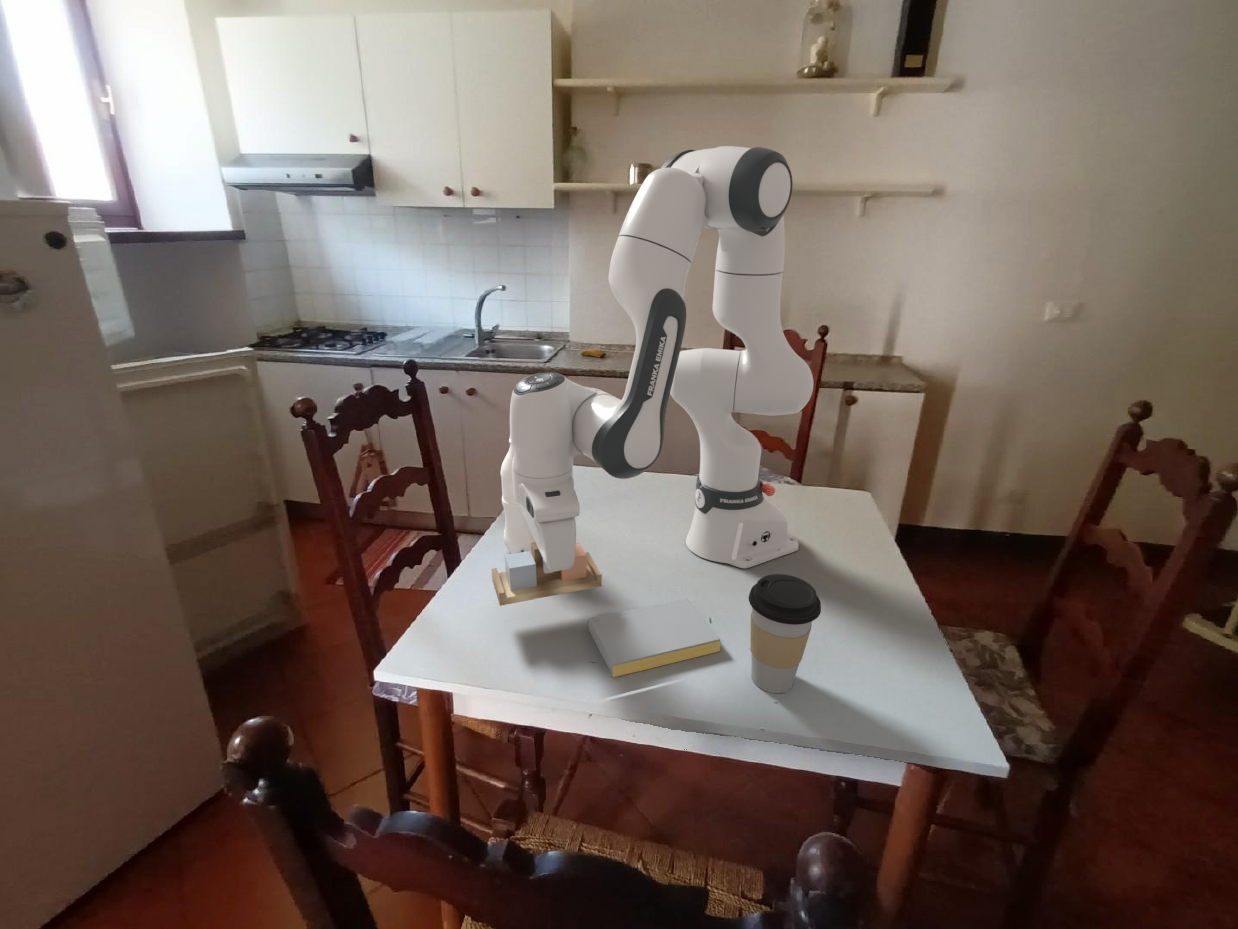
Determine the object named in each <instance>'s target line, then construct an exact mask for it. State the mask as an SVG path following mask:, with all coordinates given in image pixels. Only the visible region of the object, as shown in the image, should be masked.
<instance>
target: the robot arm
mask: <svg viewBox="0 0 1238 929" xmlns="http://www.w3.org/2000/svg"><path fill="white" fill-rule="evenodd" d="M792 193H793V176H792V171H791V168H790V166H789V163H788V161H787V160H786V158H785V156H784V155H783V154H781V153H780V152H778V151H776V150H773V149H769V148H766V147H761V146H755V147H752V148H751V147H746V146H735V145H734V146H731V145H727V146H726V145H721V146H717V147H713V148H704V149H703V148H702V149H698V150H696V149H687V150H682V151H680V152H677V153H676V154H673V155H672V156H670V157H669V158H667V159H666V160H665V161H664V163H663V164H662V166H660V168H657V169H655V170H653V171H651V172H650V173H649V174H648V175H647V176H646V177H645V179H644V180H643V182H642V183H641V186H640V187H639V189H638V191H637V193H636V195H635V196H634V199H633V200H632V202H631V205H630V206H629V209H628V211H627V213H626V216H625V218H624V221H623V223H622V225H621V228H620V230H619V233H618V237H617V239H616V242H615V245H614V247H613V250H612V251H613V252H612V254H611V259H610V263H609V270H608V280H607V281H608V283H609V287H610V291H611V292H612V295H613V297H614V298H615V300H616V301H617V303H618V304H619V305H620V306H621V308H622V309H623V310H624V311H625V313H627V315H628V316H629V318H630V320H631V322H632V324H633V326H634V330H635V337H636V339H635V340H636V341H635V348H634V354H633V357H632V361H631V366H630V369H629V373H628V378H627V383H626V386H625V390H624V394H623V397H622V399H620V398H618V397H616V396H615V395H614V394H611V393H608V392H606V391H604V390H601V389H599V388H595V387H588V386H583V385H581V384H578V383H577V382H574V381H572V380H570V379H568V378H567V377H566V376H565V375H564V374H562V373H559V372H551V371H550V372H549V371H548V372H538V373H533V374H531V375H528V376H526V377H523V378H522V379H521V380H520V381H518V382H517V383H516V384H515V386H513V387H514V388H513V390H512V391H511V392H512V393H511V396H510V405H509V406H510V407H509V439H510V440H511V443H512V446H513V449H514V457H513V461H512V479H513V496H514V499H515V500H516V501H517V502H519V503H520V507H521V512H522V514H523V517H524V519H525V521H526V523H527V525H528V527H529V530H530V532H531V534H532V536H533V538H534V541H535V542H536V545H537V547H538V549H539V551H540V553H541V555H542V558H543V559H542V568H543V571H544V573H546V574H547V573H553V572H554V571H561V570H566V569H570V568H571V567H572V566H573V564H574V561H575V549H576V543H577V522H576V517H579V516H580V513H581V511H580V509H581V508H580V501H579V498H578V495H577V493H576V489H575V479H574V459H575V457H577V456H581V455H584V456H585V457H588V458H589V459H590V460H592V461H594V462H595V463H596V464H597V465H598V466H599V467H600V469H603V471H605V472H606V473H607V474H608V475H609V476H611V477H612V478H616V479H621V480H626V479H628V480H629V479H631V478H635V477H637V476H640V475H641V474H643V473H645V472H646V471H647V470H648V471H649V469H651V467H652V466H653V465H654V464H655V463H656V461H657V460H658V458H660V457H659V456H660V454H661V452H662V449H663V444H664V439H665V423H666V414H667V407H668V402H669V399H670V396H671V397H672V399H673V400H674V401H675V403H676V404H678V405H680V406H681V407H682V408H683V410H685V412H686V413H687V414H688V415H689V417H690V418H691V420H692V422H693V425H694V426H695V428H696V431H697V433H698V437H699V438H698V439H699V449H700V455H699V456H700V457H699V459H700V460H699V463H700V464H699V474H698V475H697V478H696V482H695V483H696V486H695V493H694V494H695V497H694V499H695V502H694V504H695V506H694V512H693V513H694V514H693V517H692V521H691V525H690V527H689V528H690V529H689V531H688V533H687V536H686V538H685V544H686V546H687V548H688V549H689V551H691V552H692V553H693V554H695V555H696V556H698V557H701V558H703V559H705V560H707V561H712V562H716V563H717V562H718V563H723V564H729V565H731V566H733V567H737V568H740V569H749V568H751V567H754V566H757V565H760V564H762V563H767V562H768V561H771V560H775V559H777V558H780V557H782V556H786V555H788V554H791V553H794V552H796V551H798V550H799V541H798V539H797V538H796V537H795V535H794V533H792V532H791V531H789V523H788V519H787V517H786V516H785V514H784V513H783V512H782V510H781V509H779V507H777V506H776V505H775V504H773V503H772V502H771V501H769V499H767V497H772V496H774V494H775V492H776V488H775V487H774V486H772V485H771V484H770V483H768V482H767V483H764V481H763V480H761V479H760V478H759V472H760V463H761V457H762V446H761V443H760V441H759V440H758V438H757V437H756V436H755V435H754V434H753V433H752V432H751V431H749V430H748V429H746V428H744V427H743V426H741V425H739V424H738V423H737V421H736V420H735V419H734V418H733V416H732V413H744V414H752V415H761V416H762V415H763V416H771V417H772V416H785V415H795V414H798V413H799V412H801V411H802V410H803V409H804V408H805V407H806V405H807V404H808V403H809V401H810V400H811V397H812V394H813V391H814V377H813V372H812V369H811V367H809V365H808V363H807V362H806V361H805V359H803V358H802V357H801V356H799V355H798V354H797V353H796V352H795V351H794V349H793V348H792V347H791V345H790V343H789V342H788V340H787V337H786V336H785V333H784V331H783V327H782V321H781V294H782V285H783V284H782V282H783V274H784V266H785V254H786V232H785V231H786V230H785V212H786V211H787V209H788V206H789V204H790V200H791V198H792ZM704 229H713V230H717V232H718V238H719V239H718V244H717V249H716V256H715V257H716V258H715V267H714V268H715V269H714V278H713V279H714V282H713V292H712V294H713V296H712V308H711V309H712V314H713V317H714V318H715V320H716V322H717V323H718V324H719V325H720V326H721V327H722V328H724V329H725V330H727V331H728V332H731V333H732V334H733V335H735V336H737V337H738V338H739V339H740V340H741V341H742V343H743V344H744V347H745V349H743V350H734V349H726V348H725V349H724V348H723V349H721V348H710V347H701V348H700V347H699V348H693V349H685V350H681V349H682V345H683V340H684V335H685V329H686V324H687V307H686V303H685V301H684V300H685V299H684V297H685V288H686V281H687V277H688V274H689V272H690V267H691V264H692V261H693V258H694V256H695V253H696V250H697V247H698V242H699V240H700V235H701V233H702V231H703V230H704ZM764 494H765V495H766V496H767V497H764Z"/></svg>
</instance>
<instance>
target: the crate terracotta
mask: <svg viewBox="0 0 1238 929" xmlns="http://www.w3.org/2000/svg"><path fill="white" fill-rule="evenodd" d="M560 574H561V580H562V581H567V580H572V579H578V578H583V577H587V555H586V552H585V550H584V548H583V547H582V545H581V543H580V542H576V549H575V561H574V564H573V566H572V567H571V568H570V569H566V570H561V571H560Z"/></svg>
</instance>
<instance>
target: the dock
mask: <svg viewBox="0 0 1238 929" xmlns="http://www.w3.org/2000/svg"><path fill="white" fill-rule="evenodd" d="M588 631H589V632H590V635H591V637H592V638H593V640H594V642H595V645H596V646H597V648H598V650H599V652H600V654H601V656H602V658H603V661H604V663H605V665H606V666H607V667H608V670H609V672H610V675H611V676H612V678H617V677H620V676H621V677H622V676H625V675H628V674H632V673H638V672H640V671H646V670H649V669H653V668H658V667H661V666H666V665H670V664H674V663H677V662H683V661H686V660H690V659H694V658H698V657H701V656H702V657H703V656H707V655H711V654H714V653H718V652H720V651H721V645H722V644H721V642H722V641H721V638H720V637H719V636H718V634H717V633H716V632H715V630H714V629H713V628H712V626H710V624H709V623H708V622H707V621H706V619H705V618H704V617H703V615H701V613H700V612H699V611H698V609H697V608H696V607H695V606H694V604H693V602H691V601H690V599H689V598H688V597H686V598H685V597H684V598H682V599H676V600H672V601H666V602H661V603H657V604H651V605H648V606H642V607H637V608H632V609H628V610H622V611H618V612H613V613H609V614H604V615H599V616H595V617H589V618H588Z"/></svg>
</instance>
